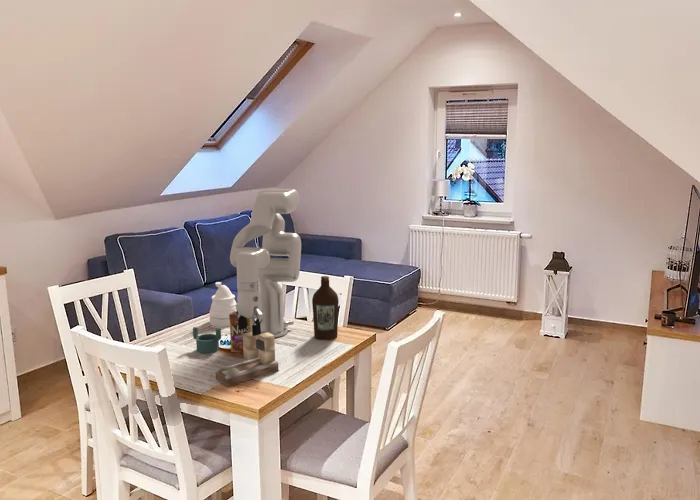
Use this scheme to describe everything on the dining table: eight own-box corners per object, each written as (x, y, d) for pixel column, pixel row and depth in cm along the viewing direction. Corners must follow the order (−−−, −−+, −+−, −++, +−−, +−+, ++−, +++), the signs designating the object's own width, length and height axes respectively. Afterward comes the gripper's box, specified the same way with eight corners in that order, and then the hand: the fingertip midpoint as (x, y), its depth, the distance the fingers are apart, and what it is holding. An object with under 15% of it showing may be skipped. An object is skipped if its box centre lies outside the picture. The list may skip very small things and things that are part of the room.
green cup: (223, 351, 225) (222, 328, 224) (199, 355, 221) (197, 332, 219) (215, 344, 233) (214, 322, 231) (192, 348, 228) (191, 326, 227)
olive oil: (313, 332, 246) (311, 273, 241) (338, 331, 246) (337, 273, 241) (312, 341, 235) (311, 280, 230) (339, 340, 236) (338, 279, 231)
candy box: (230, 352, 224) (228, 313, 221) (235, 348, 228) (234, 310, 225) (251, 355, 221) (250, 316, 218) (256, 351, 225) (255, 312, 222)
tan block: (256, 356, 220) (255, 330, 218) (261, 359, 217) (260, 333, 215) (243, 359, 217) (242, 333, 215) (249, 362, 214) (248, 336, 212)
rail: (266, 364, 212) (265, 330, 210) (278, 370, 206) (277, 336, 204) (215, 378, 200) (213, 343, 197) (227, 386, 194) (225, 350, 191)
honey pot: (212, 328, 252) (210, 287, 248) (207, 319, 263) (205, 280, 260) (242, 324, 257) (241, 284, 253) (236, 316, 268) (234, 277, 265)
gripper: (270, 288, 207) (271, 335, 209) (244, 280, 220) (246, 324, 223) (251, 291, 202) (252, 339, 205) (226, 283, 215) (228, 328, 218)
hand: (249, 332), depth 214 cm, fingers open, 9 cm apart
